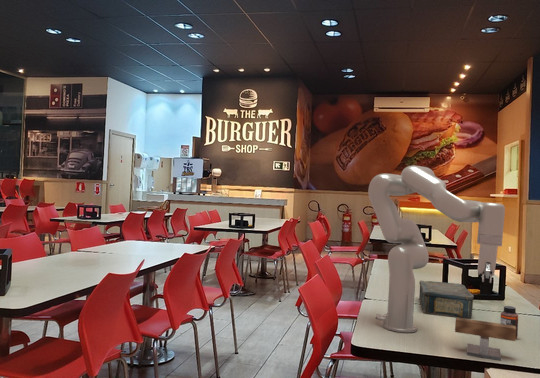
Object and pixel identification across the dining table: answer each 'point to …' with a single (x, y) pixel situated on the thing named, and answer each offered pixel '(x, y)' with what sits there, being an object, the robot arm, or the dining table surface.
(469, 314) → the metal box
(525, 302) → the dining table surface
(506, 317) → the supplement bottle
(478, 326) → the beam
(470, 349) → the stand
